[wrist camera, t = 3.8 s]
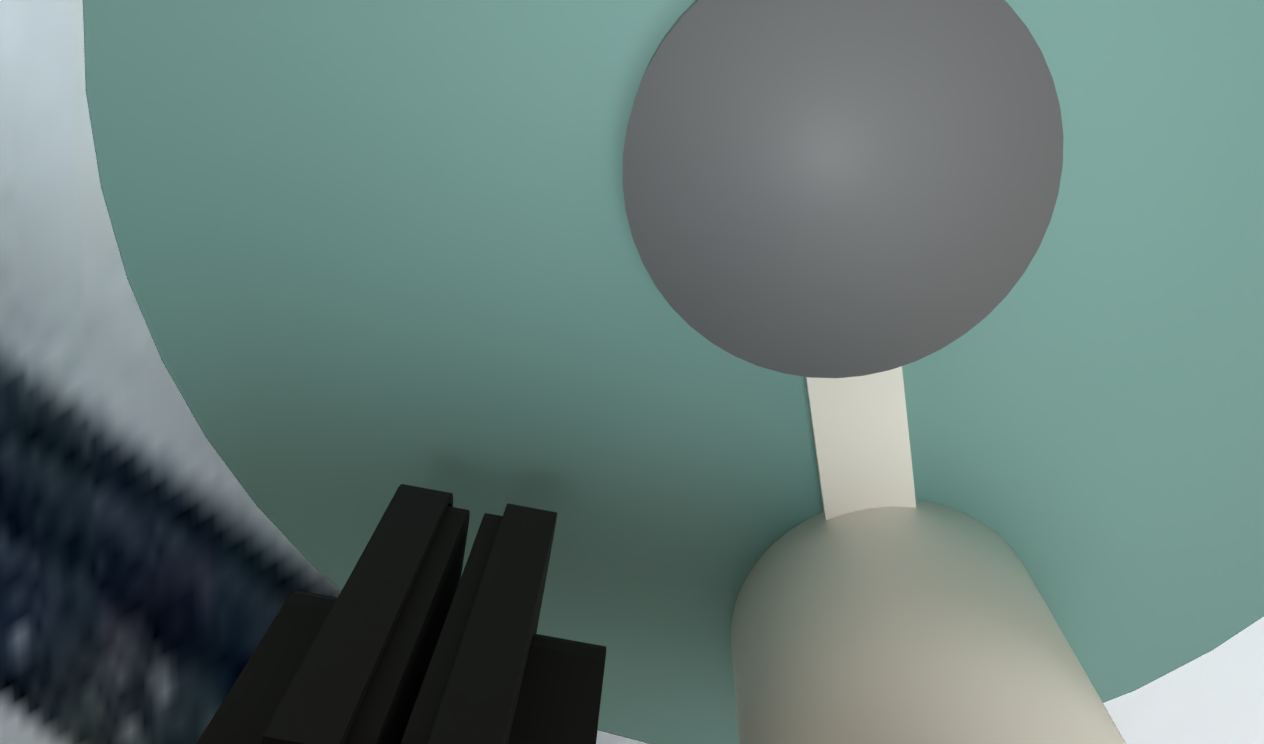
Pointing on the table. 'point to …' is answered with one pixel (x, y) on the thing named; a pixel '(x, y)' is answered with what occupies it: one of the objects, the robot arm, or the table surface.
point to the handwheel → (737, 326)
